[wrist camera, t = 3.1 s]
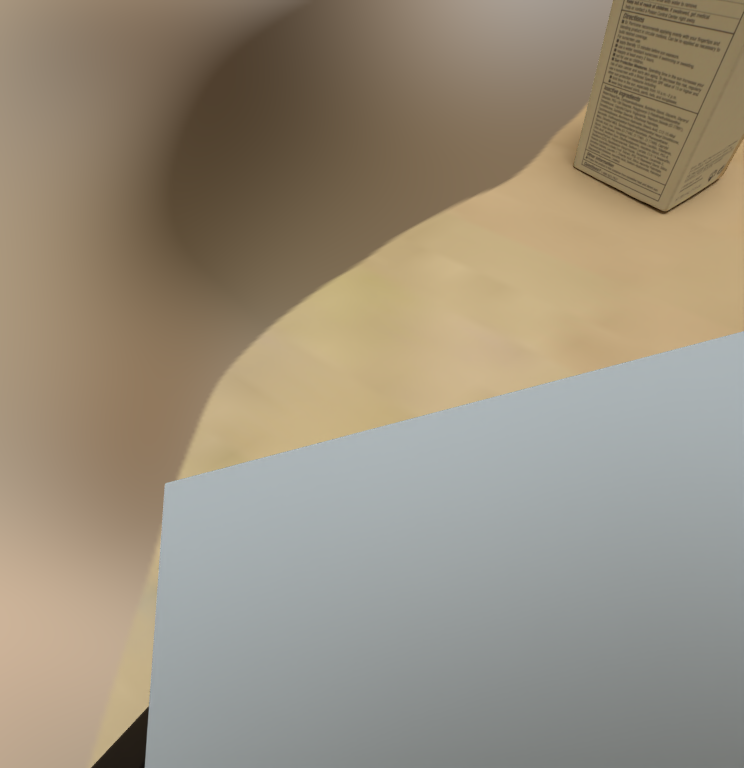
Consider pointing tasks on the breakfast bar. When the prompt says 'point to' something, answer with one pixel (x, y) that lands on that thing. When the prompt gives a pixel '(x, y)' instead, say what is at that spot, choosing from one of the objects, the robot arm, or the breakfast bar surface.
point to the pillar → (470, 586)
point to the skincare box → (666, 98)
